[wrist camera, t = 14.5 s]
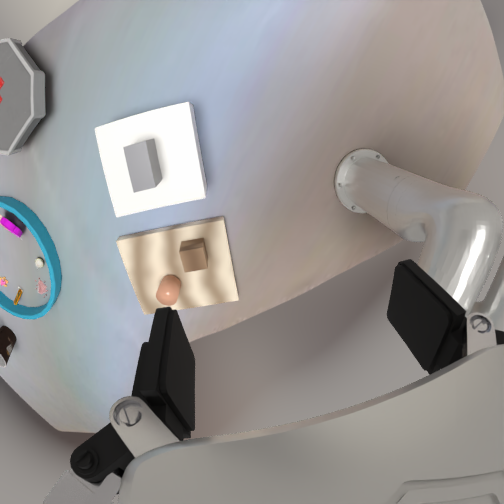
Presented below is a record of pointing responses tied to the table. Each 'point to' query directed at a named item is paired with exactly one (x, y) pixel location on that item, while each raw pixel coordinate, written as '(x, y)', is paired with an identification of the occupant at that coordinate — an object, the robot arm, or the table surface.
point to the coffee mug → (6, 344)
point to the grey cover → (152, 159)
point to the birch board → (179, 264)
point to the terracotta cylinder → (168, 290)
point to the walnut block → (193, 255)
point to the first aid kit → (18, 96)
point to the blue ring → (50, 256)
